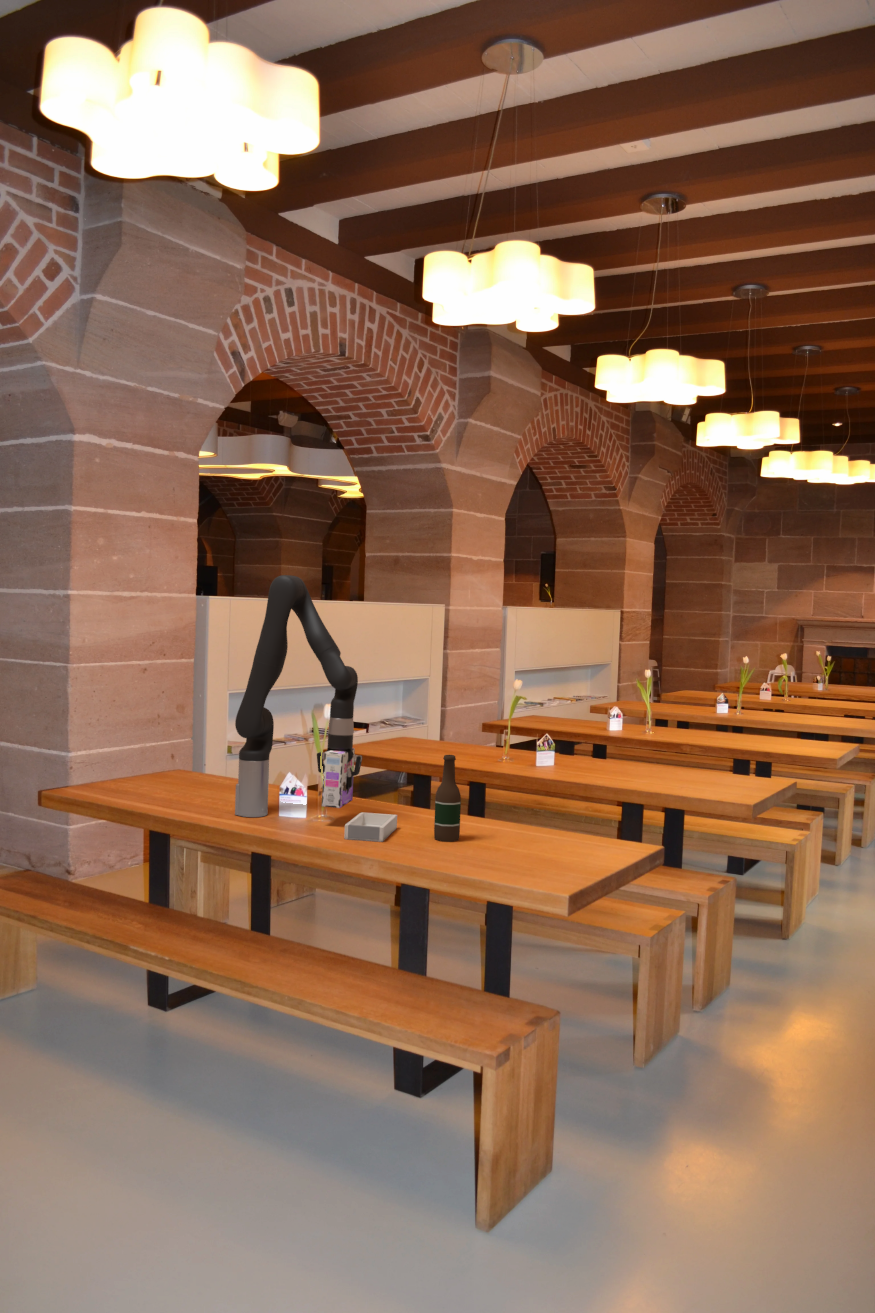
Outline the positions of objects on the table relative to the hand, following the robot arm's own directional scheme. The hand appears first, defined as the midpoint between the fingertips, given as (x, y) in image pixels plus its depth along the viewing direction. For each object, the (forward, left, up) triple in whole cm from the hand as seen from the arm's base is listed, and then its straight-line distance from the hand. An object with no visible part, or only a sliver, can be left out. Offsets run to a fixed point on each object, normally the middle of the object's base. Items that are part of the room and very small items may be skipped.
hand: (337, 787), depth 299 cm
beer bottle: (+35, -11, -11) cm, 39 cm away
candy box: (0, 0, -5) cm, 5 cm away
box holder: (+13, -11, -11) cm, 20 cm away
